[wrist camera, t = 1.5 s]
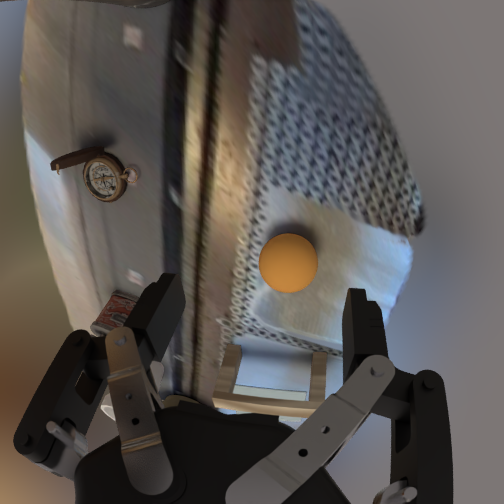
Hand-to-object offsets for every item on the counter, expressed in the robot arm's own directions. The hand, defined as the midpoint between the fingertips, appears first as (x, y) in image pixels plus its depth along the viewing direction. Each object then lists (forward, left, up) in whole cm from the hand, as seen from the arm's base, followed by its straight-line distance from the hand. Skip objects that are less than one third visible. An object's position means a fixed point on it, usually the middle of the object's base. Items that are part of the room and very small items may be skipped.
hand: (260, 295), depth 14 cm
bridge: (+29, -1, -18) cm, 35 cm away
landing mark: (+47, -3, -18) cm, 51 cm away
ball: (+9, 0, -15) cm, 18 cm away
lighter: (+21, -23, -18) cm, 36 cm away
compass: (0, -20, -18) cm, 27 cm away
